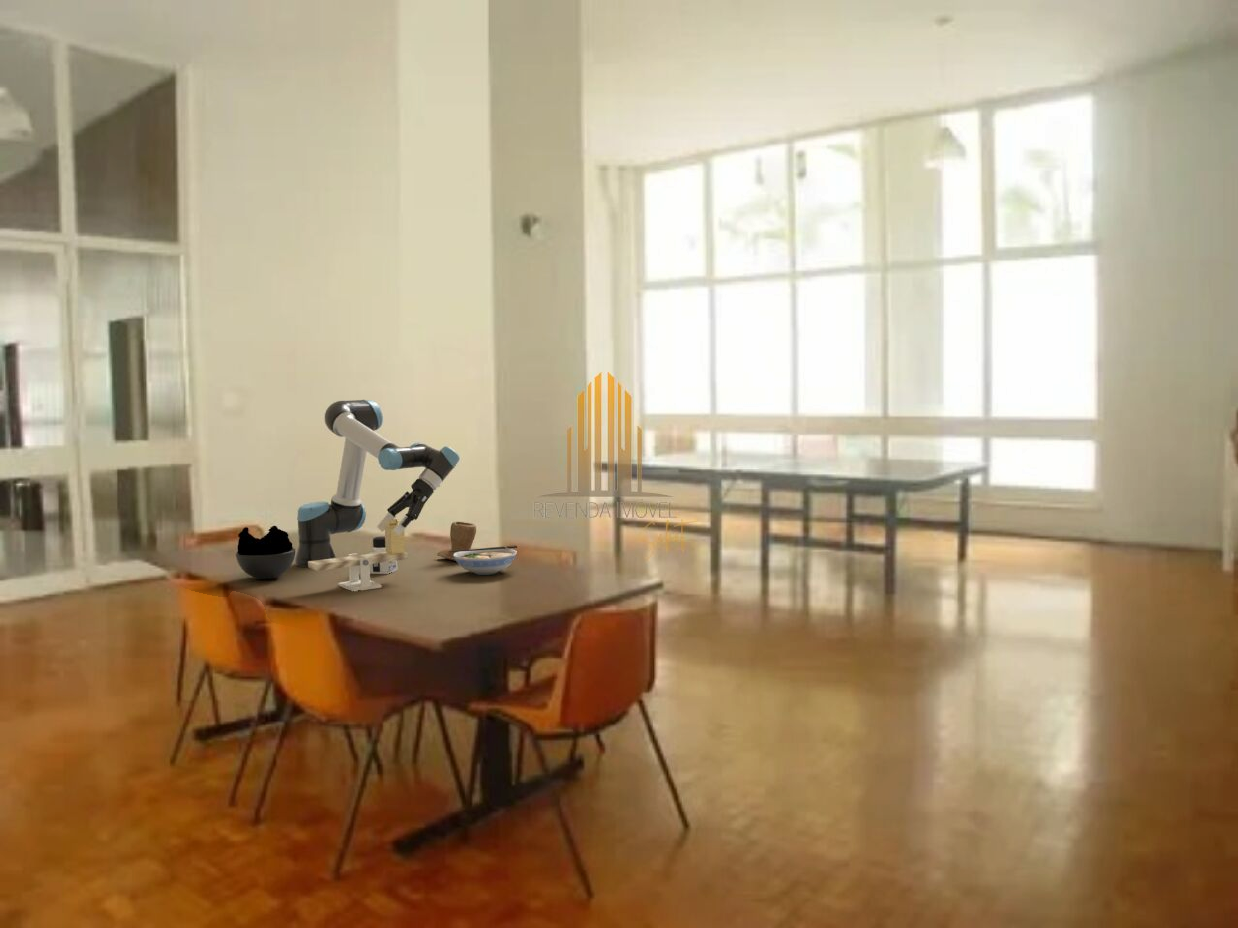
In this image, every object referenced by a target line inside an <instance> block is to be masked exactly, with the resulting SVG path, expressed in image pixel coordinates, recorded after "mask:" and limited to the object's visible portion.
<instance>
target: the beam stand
mask: <svg viewBox="0 0 1238 928" xmlns="http://www.w3.org/2000/svg"><path fill="white" fill-rule="evenodd" d="M358 555H359V553H350V554H347V557H349V556H358ZM348 577H349V578H348V581H342V582H338V586H339V587H341V588H343V589H346V590H349V591H350V590H351V591H350V592H353V591H354V592H358V590H361V591H365V590H366V591H367V590H373V589H380V588H382V584H381V583H379V582H377V581H373V580H371V574H370V562H369V557H365V558H360V565H358V566H350V567H348Z"/></svg>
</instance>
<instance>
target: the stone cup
mask: <svg viewBox="0 0 1238 928" xmlns="http://www.w3.org/2000/svg"><path fill="white" fill-rule="evenodd" d="M476 533H477V526H476V524H474V523H472V522H471V523H470V522H464V521H456V520H454V521H453V522H452V523H451V524H450V531H449V536H450V537H449V538H450V545H451V548H450V549H448V548H447V549H444V550H440V551H438V552H436V555H437V556H438V557H440V558H443V559H447V560H451V561H456V560H455V558H454V556H453V555H454V553H456V552H449V551H460V550H469V549H472V545H473V543H474V540H475V538H476ZM456 562H457V561H456Z"/></svg>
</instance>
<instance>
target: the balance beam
mask: <svg viewBox="0 0 1238 928" xmlns="http://www.w3.org/2000/svg"><path fill="white" fill-rule="evenodd" d="M365 557H369V562H370V564H374V563H382V562H390V561H397V562H398V561H403V560H404V561H406V560H409V553H408V552H405V553H401V554H392V555H391V554H388V553H386V552H382V553H374V554H368V553H367V554H360V555H359V554H358V556H349V557H348V556H341V557H336V558H333V559H325V560H316V561H308V567H307V568H309V569H311V570H314V571H316V572H317V571H318V572H319V571H326V570H332V569H342V568H349V567H350V566H358V567H359V566H360V558H365Z"/></svg>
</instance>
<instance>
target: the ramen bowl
mask: <svg viewBox="0 0 1238 928" xmlns="http://www.w3.org/2000/svg"><path fill="white" fill-rule="evenodd" d="M515 549H518V546H517V545H515V544H514V545H506V546H505V545H503V546H495V547H493V546H492V547H483V548H471V549H469V550H460V551H449V552H456V553H454V555H453V556H454V558H455V560H456V563H457V564H458V565H459V566H460V568H462V569H464V570H465V571H468V572H470V573H474V575H475V574H476V575H478V576H479V575H480V576H490V575H495V574H497V573H498V572H501V571H503V570H504V569H506V568H508V567H509V566H510V565H511V564H512V563H513V561H514V559H515V558H516V555H517V552H518V551H517V550H515ZM455 560H454V561H455Z"/></svg>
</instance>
